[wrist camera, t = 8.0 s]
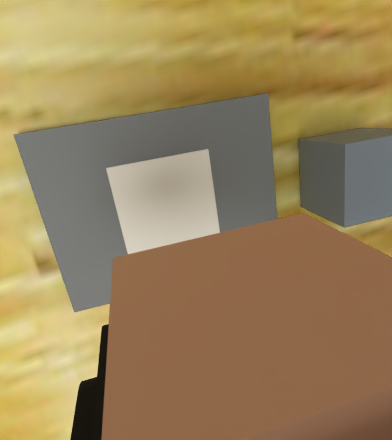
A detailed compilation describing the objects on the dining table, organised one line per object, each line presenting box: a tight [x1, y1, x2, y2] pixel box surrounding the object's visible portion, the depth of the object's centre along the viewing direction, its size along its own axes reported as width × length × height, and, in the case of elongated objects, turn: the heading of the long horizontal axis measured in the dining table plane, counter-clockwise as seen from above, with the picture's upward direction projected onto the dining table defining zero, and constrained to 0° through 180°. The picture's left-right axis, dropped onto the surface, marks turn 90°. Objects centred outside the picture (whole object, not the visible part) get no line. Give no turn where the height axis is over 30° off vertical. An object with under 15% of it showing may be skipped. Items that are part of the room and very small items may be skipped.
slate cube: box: [298, 128, 392, 228], centre depth 25 cm, size 6×6×6 cm
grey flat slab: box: [14, 93, 277, 312], centre depth 24 cm, size 18×14×1 cm
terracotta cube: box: [101, 213, 392, 440], centre depth 8 cm, size 6×6×6 cm
